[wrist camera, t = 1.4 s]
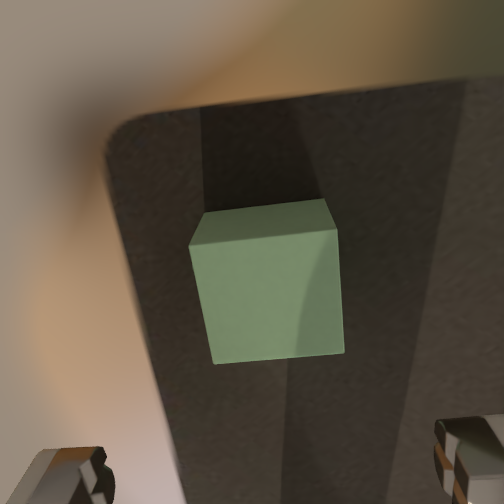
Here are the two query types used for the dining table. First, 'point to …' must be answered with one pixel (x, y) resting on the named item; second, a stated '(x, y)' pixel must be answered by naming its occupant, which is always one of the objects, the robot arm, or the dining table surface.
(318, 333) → the green block
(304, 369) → the dining table surface
